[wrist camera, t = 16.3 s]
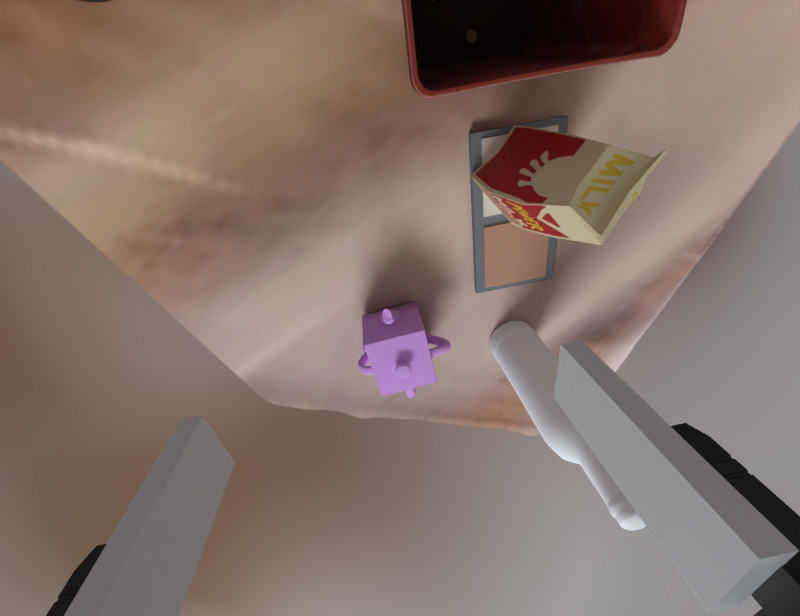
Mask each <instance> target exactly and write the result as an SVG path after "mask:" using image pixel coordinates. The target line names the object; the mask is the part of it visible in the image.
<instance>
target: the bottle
mask: <svg viewBox="0 0 800 616" xmlns="http://www.w3.org/2000/svg"><path fill="white" fill-rule="evenodd" d="M489 345H490V349H491V351H492V352H493V355H494V357H495V359H496V360H497V361H498V362H499V364H500V366H501V368H502V369H503V371H504V373H505V374H506V376H507V378H508V379H509V381H510V383H511V384H512V386H513V388H514V390H515V391H516V393H517V395H518V396H519V398H520V400H521V401H522V403H523V405H524V406H525V408H526V410H527V412H528V413H529V415H530V417H531V418H532V420H533V422H534V423H535V425H536V427H537V429H538V430H539V432H540V434H541V435H542V437H543V439H544V440H545V442H546V444H547V445H548V446H549V447H550V448H551V449H552V450H554V451H555V452H556V453H557V454H558V455H559V456H560V457H561V458H563V459H564V460H567V461H570V462H573V463H577V464H580V465H581V466H582V468H583V469H584V471H585V472H586V474H587V475H588V477H589V479H590V480H591V482H592V483H593V485H594V486H595V488H596V489H597V491H598V492H599V494H600V495H601V497H602V498H603V500H604V501H605V503H606V504H607V506H608V509H609V512H610V513H611V515H612V516H613V517H614V518H616V520H617V521H618V523H619V524H620V526H621V527H622V528H624V529H627V530H638V529H641V528H644V527H646V525H645V524H644V522H643V521H642V520H641V518H640V517H639V515H638V514H637V513H636V511H635V510H634V508H633V507H632V506H631V504H630V503H629V501H628V500H627V499H626V497H625V496H624V495H623V493H622V492H621V490H620V489H619V488H618V486H617V485H616V483H615V482H614V481H613V479H612V478H611V476H610V475H609V474H608V472H607V471H606V469H605V468H604V467H603V465H602V464H601V463H600V461H599V460H598V458H597V457H596V456H595V454H594V453H593V451H592V450H591V449H590V447H589V446H588V444H587V443H586V442H585V440H584V439H583V437H582V436H581V435H580V433H579V432H578V430H577V429H576V428H575V426H574V425H573V424H572V422H571V421H570V419H569V418H568V417H567V415H566V414H565V412H564V411H563V410H562V408H561V407H560V405H559V404H558V403H557V401H556V400H555V398H554V392H555V384H556V377H557V369H558V361H559V360H558V359H557V358H556V356H555V355H554V354H553V353H552V352H551V351H550V349H549V348H548V347H547V346H546V345H545V344H544V342H543V341H542V340H541V339H540V337H539V336H538V335H537V333H536V332H535V331H534V330H533V329H532V328H531V327H530V326H529V325H528V324H527V323H525V322H523V321H517V320H514V321H509V322H506V323H504V324H502V325H500V326H499V327H498V328H497V329H496V330H495V331H494V332H493V334H492V335H491V337H490V342H489Z"/></svg>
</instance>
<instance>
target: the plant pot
mask: <svg viewBox="0 0 800 616" xmlns="http://www.w3.org/2000/svg"><path fill="white" fill-rule="evenodd" d="M686 3H687V0H434V1H432V0H402V9H403V18H404V27H405V36H406V46H407V55H408V65H409V75H410V81H411V84H412V87H413V88H414V90H415V91H416V92H417V93H418V94H419V95H421V96H422V97H426V98H434V97H439V96H444V95H449V94H454V93H459V92H464V91H469V90H474V89H479V88H484V87H489V86H494V85H499V84H504V83H509V82H515V81H520V80H525V79H531V78H536V77H541V76H547V75H553V74H558V73H564V72H569V71H575V70H580V69H586V68H592V67H598V66H604V65H609V64H615V63H621V62H627V61H633V60H639V59H645V58H651V57H657V56H661V55H663V54H664V53H666V52H667V51H668V50H669V49H670V48H671V47H672V46H673V45H674V43H675V42H676V40H677V39H678V36H679V33H680V29H681V25H682V21H683V16H684V12H685V7H686ZM471 27H475V28H476V30H477V31H478V33H479V36H478V39H477V41H476V42H474V43H469V42H468V40H467V37H466V34H467V31H468V30H469V29H470V28H471Z"/></svg>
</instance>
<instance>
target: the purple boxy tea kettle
mask: <svg viewBox="0 0 800 616" xmlns="http://www.w3.org/2000/svg"><path fill="white" fill-rule="evenodd" d="M362 320H363V352H364V354H363V355H362V357H361V358H360V360H359V362H358V367H359V369H360V371H361V372H362V373H364V374H367V375H372V374H374V376H375V378H376V381H377V384H378V387H379V389H380V392H381V395H382V396H384V395H388V394H392V393H396V392H400V391H404V390H405V392H406V394H407V396H408V397H410V398H412V397H414V396H415V395H416V390H415V388H416V387H420V386H424V385H428V384H432V383H436V382H437V380H436V376H435V372H434V367H433V363H432V359H431V358H433V357H436V356H439V355H441V354H444V353H446V352H447V351H448V350H449V349H450V347H451V345H450V342H449V341H448V340H446V339H444V338H441V337H438V336H433V335H428V334H426V333H425V328H424V325H423V322H422V319H421V316H420V313H419V310H418V307H417V304H416V302H412V303H408V304H404V305H401V306H397V307H393V308H389V309H384V310H381V311H377V312H373V313H370V314H366V315H362ZM428 343H431V344H434V345H437V347H435V348H432V349H429V346H428ZM368 360H369V362H370V365H371V366H365V364H366V363H367V361H368Z"/></svg>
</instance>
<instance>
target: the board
mask: <svg viewBox="0 0 800 616" xmlns="http://www.w3.org/2000/svg"><path fill="white" fill-rule="evenodd" d="M567 123H568V116H561V117H556V118H550V119H545V120H539V121H534V122H529V123H523V124H518V126H527V127H535V128H540V129H545V130H550V131H555V132H560V133H565V134H566V133H567ZM513 126H514V125H512V126H507V127H502V128H496V129H491V130H485V131H480V132H475V133H469V154H470V175H472V174H473V173H474V172H475V171H476V170H477V169H478V168H479V167H480V166H481V165H482V164H483V163H484V162H485V161H486V160H487V159H489V158H490V157H491V156H492V155H493V154H494V153H495V152H496V151H497V150H498V148H499V147H500V145H501V144H502V143H503V141H504V140H505V138H506V137H507V135H508V134H509V132H510V131H511V129H512V128H513ZM470 179H471V204H472V229H473V255H474V280H475V291H476V293H481V292H486V291H491V290H496V289H501V288H506V287H511V286H516V285H522V284H527V283H532V282H537V281H542V280H547V279H552V273H553V263H554V253H555V243H556V238H554V237H550V236H546V235H542V234H539V233H535V232H531V231H527V230H524V229H522V228H520V227H517V226H515V225H513V224H511V223H510V222H509V220H508V219H507V218H506V217H505V216H504V215H503V214H502V213H501V212H500V211H499V209H498V208H497V207H496V206H495V205H494V204H493V203H492V202H491V201H490V199H489V198H488V197H487V196H486V194H485V193H484V192H483V191H482V190H481V188H480V187H479V186H478V185H477V183H476V182H475V181H474V180H473V179H472V177H471V176H470Z"/></svg>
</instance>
